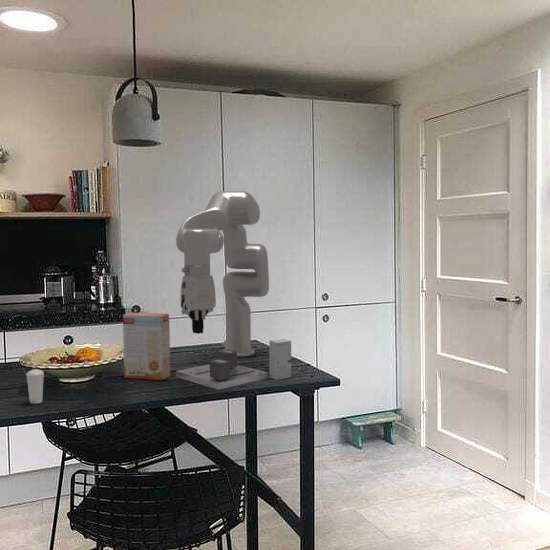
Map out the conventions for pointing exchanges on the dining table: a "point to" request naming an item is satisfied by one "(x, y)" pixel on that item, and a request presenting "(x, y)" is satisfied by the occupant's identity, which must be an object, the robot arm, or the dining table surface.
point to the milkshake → (35, 385)
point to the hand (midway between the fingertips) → (197, 332)
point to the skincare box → (280, 359)
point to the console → (236, 378)
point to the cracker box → (146, 346)
